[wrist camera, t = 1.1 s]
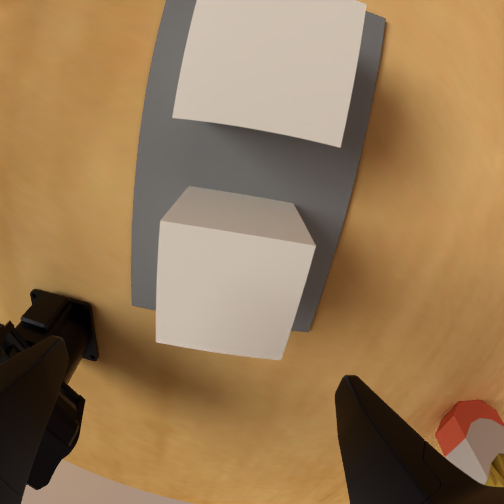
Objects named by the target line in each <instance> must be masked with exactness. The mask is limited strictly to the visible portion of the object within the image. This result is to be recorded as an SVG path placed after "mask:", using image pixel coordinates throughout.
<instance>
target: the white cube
mask: <svg viewBox="0 0 504 504" xmlns="http://www.w3.org/2000/svg"><path fill="white" fill-rule="evenodd" d="M315 248H316V245H315V243H314V241H313V239H312V237H311V235H310V234H309V232H308V230H307V228H306V226H305V224H304V222H303V220H302V218H301V217H300V215H299V213H298V211H297V209H296V207H295V205H294V204H293V203H289V202H284V201H278V200H273V199H267V198H261V197H256V196H250V195H244V194H238V193H232V192H225V191H219V190H213V189H206V188H199V187H192V186H189V187H188V188H187V189H186V190H185V191H184V192H183V194H182V195H181V196H180V197H179V198H178V200H177V201H176V202H175V203H174V204H173V206H172V207H171V208H170V209H169V211H168V212H167V213H166V214H165V215H164V217H163V218H162V219H161V220H160V230H159V244H158V262H157V287H156V342H158V343H163V344H168V345H173V346H179V347H185V348H191V349H197V350H203V351H209V352H216V353H223V354H230V355H238V356H246V357H254V358H263V359H273V360H281V359H282V356H283V353H284V350H285V347H286V344H287V341H288V338H289V335H290V332H291V328H292V325H293V322H294V319H295V316H296V313H297V309H298V306H299V303H300V299H301V296H302V293H303V289H304V286H305V283H306V279H307V276H308V272H309V269H310V265H311V262H312V258H313V255H314V251H315Z"/></svg>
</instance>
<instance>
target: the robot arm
mask: <svg viewBox="0 0 504 504" xmlns="http://www.w3.org/2000/svg"><path fill="white" fill-rule="evenodd" d="M30 296H31V301H32V306H31V307H30V308H29V309H28V310H27V311H26V312H25V314H24V315H23V316H22V317H21V322H20V323H19V324H18V325H17V327H16V328H14V325H13V324H12V322H11V321H9V322H8V323H7V324H5V325H3V324H0V504H21V501H22V497H23V493H24V490H25V487H26V485H29V486H31V487H32V488H34V489H35V490H39V489H41V488H42V487H44V486H46V485H47V484H48V483H49V481H50V479H51V477H52V475H53V473H54V471H55V469H56V467H57V466H58V464H59V463H60V461H61V460H62V459H63V458H65V457H66V456H67V455H68V454H69V453H70V452H71V451H72V449H73V448H74V447H75V445H76V443H77V441H78V438H79V434H80V428H81V422H82V416H83V410H84V404H85V399H84V398H83V397H82V396H81V395H78V394H77V393H76V392H75V391H74V390H73V389H72V388H71V387H70V386H69V385H67V384H68V383H69V381H70V379H71V377H72V375H73V373H74V371H75V370H76V368H77V366H78V364H79V362H80V360H81V359H82V358H85V359H88V360H92V361H97V359H98V357H99V354H98V348H97V342H96V336H95V329H94V322H93V314H92V307H91V305H90V304H89V303H87V302H83V301H79V300H75V299H71V298H67V297H63V296H59V295H55V294H52V293H48V292H44V291H41V290H37V289H33V290H32V291H31V293H30ZM84 307H85V308H86V309H85V308H84ZM335 406H336V418H337V431H338V440H339V445H340V450H341V456H342V461H343V466H344V471H345V477H346V482H347V488H348V494H349V499H350V504H504V487H492V486H487V485H484V484H481V483H479V482H477V481H476V480H474V479H473V478H472V477H470V476H469V475H467V474H466V473H465V472H463V471H462V470H461V469H459V468H458V467H456V466H455V465H454V464H452V463H451V462H450V461H449V460H447V459H446V458H445V457H443V456H442V455H441V454H440V453H439V452H438V451H437V450H435V449H434V448H433V447H432V446H431V445H430V444H429V443H428V442H427V441H425V440H424V439H423V438H422V437H421V436H420V435H419V434H418V433H417V432H416V431H415V430H414V429H413V428H412V427H410V426H409V425H408V424H407V423H406V422H405V421H404V420H403V419H402V418H401V417H400V416H399V415H398V414H397V413H396V412H395V411H393V410H392V409H391V408H390V407H389V406H388V405H387V404H386V403H385V402H384V401H383V400H382V399H381V398H380V397H379V396H378V395H377V394H376V393H374V392H373V391H372V390H371V389H370V388H369V387H368V386H367V385H366V384H365V383H364V382H363V381H362V380H361V379H360V378H359V377H358V376H356V375H345V376H344V377H343V378H342V380H341V382H340V384H339V386H338V388H337V390H336V393H335Z"/></svg>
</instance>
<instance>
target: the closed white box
mask: <svg viewBox="0 0 504 504" xmlns="http://www.w3.org/2000/svg"><path fill="white" fill-rule="evenodd" d="M365 12H366V4H364V3H361V2H358V1H356V0H197V1H196V5H195V9H194V13H193V17H192V21H191V25H190V29H189V33H188V38H187V42H186V47H185V51H184V56H183V61H182V66H181V71H180V76H179V81H178V87H177V92H176V98H175V104H174V110H173V116H172V118H178V119H187V120H196V121H204V122H212V123H219V124H226V125H232V126H239V127H245V128H251V129H256V130H262V131H267V132H273V133H278V134H283V135H288V136H292V137H297V138H302V139H306V140H310V141H315V142H319V143H323V144H327V145H331V146H335V147H339V148H341V143H342V138H343V134H344V129H345V125H346V120H347V115H348V110H349V105H350V100H351V95H352V90H353V84H354V79H355V74H356V68H357V62H358V57H359V51H360V45H361V38H362V32H363V25H364V19H365Z"/></svg>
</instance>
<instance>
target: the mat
mask: <svg viewBox="0 0 504 504" xmlns="http://www.w3.org/2000/svg"><path fill="white" fill-rule="evenodd" d="M196 1H197V0H166V3H165V7H164V11H163V15H162V18H161V22H160V26H159V30H158V35H157V39H156V43H155V48H154V53H153V57H152V62H151V67H150V72H149V78H148V83H147V89H146V95H145V101H144V107H143V114H142V121H141V129H140V136H139V145H138V154H137V164H136V175H135V187H134V201H133V220H132V254H131V287H132V306H136V307H141V308H146V309H152V310H156V287H157V262H158V244H159V230H160V220H161V219H162V218H163V217H164V215H165V214H166V213H167V212H168V211H169V209H170V208H171V207H172V206H173V204H174V203H175V202H176V201H177V200H178V198H179V197H180V196H181V195H182V194H183V192H184V191H185V190H186V189H187V188H188V187H189V186H192V187H199V188H206V189H213V190H219V191H225V192H232V193H238V194H244V195H250V196H256V197H261V198H267V199H273V200H278V201H284V202H289V203H293V204H294V205H295V207H296V209H297V211H298V213H299V215H300V217H301V218H302V220H303V222H304V224H305V226H306V228H307V230H308V232H309V234H310V235H311V237H312V239H313V241H314V243H315V245H316V248H315V251H314V255H313V258H312V262H311V265H310V269H309V272H308V276H307V279H306V283H305V286H304V289H303V293H302V296H301V299H300V303H299V306H298V309H297V313H296V316H295V319H294V322H293V325H292V328H291V330H292V331H301V332H309V330H310V327H311V324H312V321H313V318H314V315H315V312H316V310H317V307H318V304H319V301H320V298H321V295H322V292H323V289H324V285H325V282H326V279H327V276H328V273H329V270H330V267H331V263H332V260H333V257H334V253H335V250H336V247H337V243H338V240H339V237H340V233H341V230H342V226H343V223H344V219H345V215H346V212H347V208H348V204H349V201H350V197H351V193H352V189H353V185H354V181H355V177H356V173H357V169H358V165H359V161H360V157H361V152H362V148H363V144H364V139H365V135H366V130H367V125H368V121H369V116H370V111H371V106H372V101H373V96H374V90H375V85H376V79H377V73H378V68H379V61H380V55H381V49H382V42H383V35H384V27H385V20H386V19H385V18H383V17H380V16H378V15H375V14H373V13H370V12H367V11H366V12H365V19H364V25H363V32H362V38H361V45H360V51H359V57H358V62H357V68H356V74H355V79H354V84H353V90H352V95H351V100H350V105H349V110H348V115H347V120H346V125H345V129H344V134H343V138H342V143H341V148H339V147H335V146H331V145H327V144H323V143H319V142H315V141H310V140H306V139H302V138H297V137H292V136H288V135H283V134H278V133H273V132H267V131H262V130H256V129H251V128H245V127H239V126H232V125H226V124H219V123H212V122H204V121H196V120H187V119H178V118H172V116H173V110H174V104H175V98H176V92H177V87H178V81H179V76H180V71H181V66H182V61H183V56H184V51H185V47H186V42H187V38H188V33H189V29H190V25H191V21H192V17H193V13H194V9H195V5H196Z"/></svg>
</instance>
